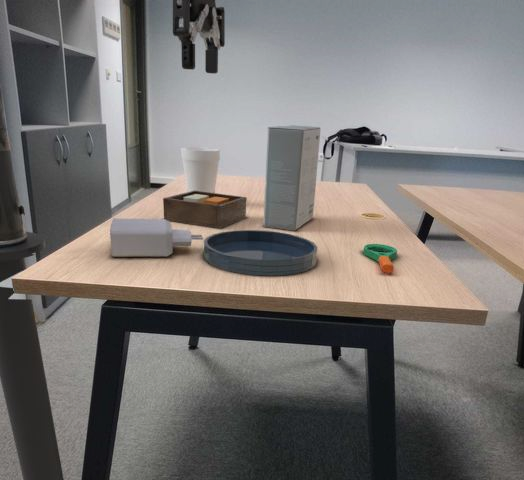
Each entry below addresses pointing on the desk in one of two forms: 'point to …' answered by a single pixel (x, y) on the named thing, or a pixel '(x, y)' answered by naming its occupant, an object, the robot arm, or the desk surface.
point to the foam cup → (200, 168)
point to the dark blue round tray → (260, 252)
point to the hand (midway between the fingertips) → (200, 71)
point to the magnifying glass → (381, 255)
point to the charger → (146, 237)
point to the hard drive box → (290, 176)
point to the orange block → (216, 200)
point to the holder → (204, 210)
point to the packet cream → (196, 198)
